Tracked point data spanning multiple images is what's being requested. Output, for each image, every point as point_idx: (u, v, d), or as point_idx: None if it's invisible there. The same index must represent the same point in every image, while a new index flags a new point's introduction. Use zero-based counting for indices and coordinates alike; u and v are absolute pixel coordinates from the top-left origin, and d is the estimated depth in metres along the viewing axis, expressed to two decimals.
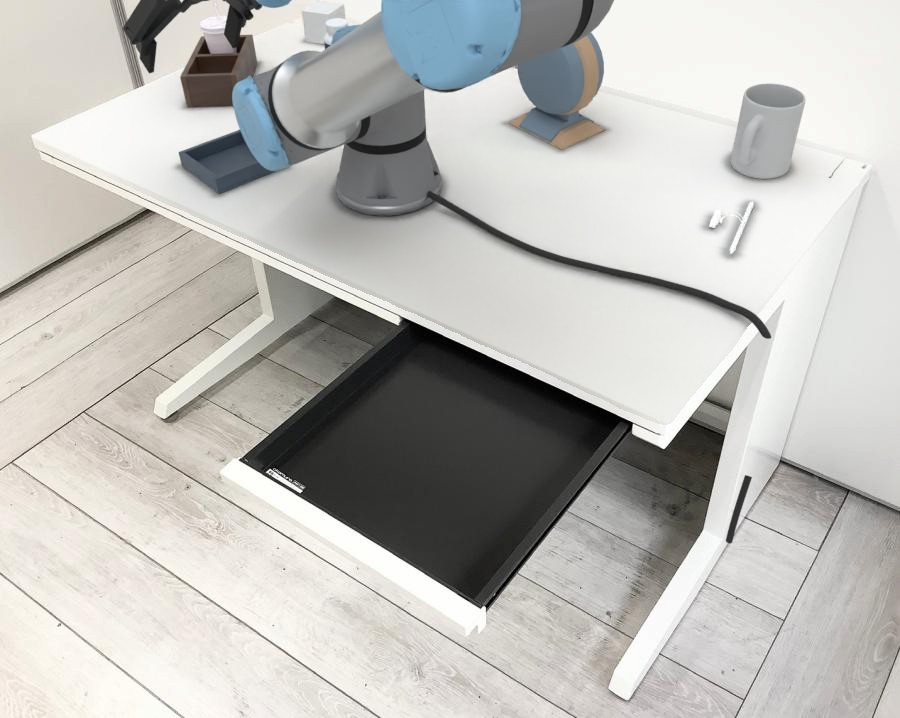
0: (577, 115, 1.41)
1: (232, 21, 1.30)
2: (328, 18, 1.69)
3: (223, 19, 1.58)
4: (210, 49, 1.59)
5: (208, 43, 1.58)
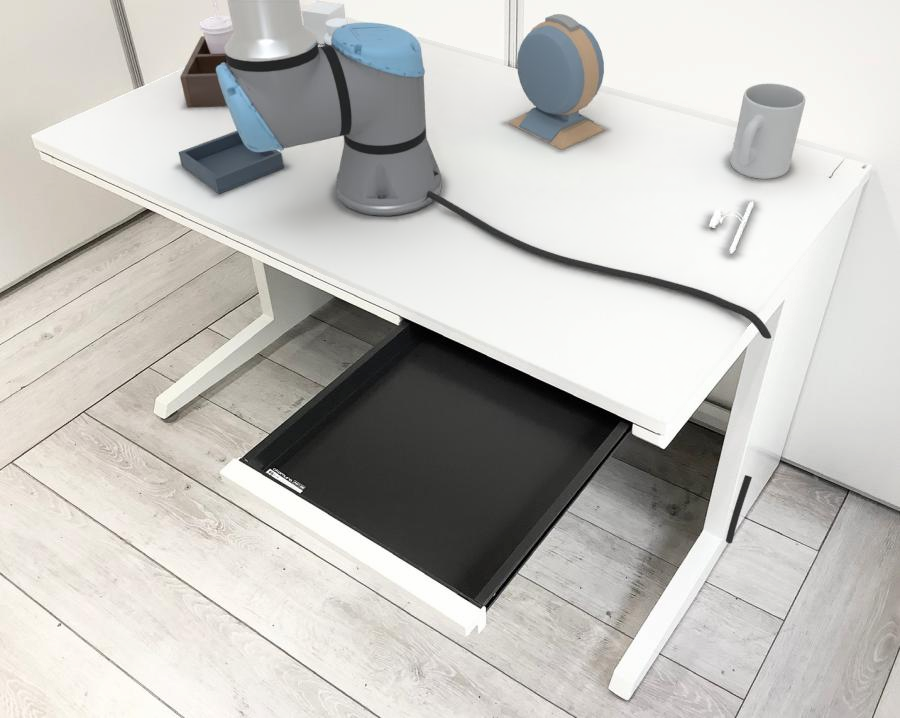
0: (577, 115, 1.41)
1: None
2: (328, 18, 1.69)
3: (223, 19, 1.58)
4: (210, 49, 1.59)
5: (208, 43, 1.58)
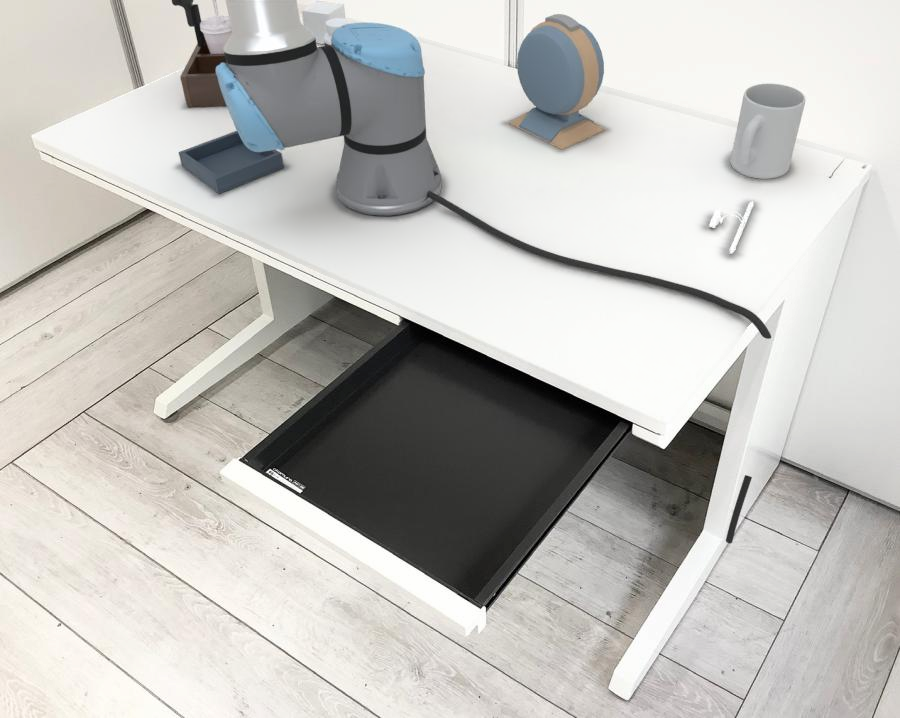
0: (577, 115, 1.41)
1: None
2: (328, 18, 1.69)
3: (223, 19, 1.58)
4: (210, 49, 1.59)
5: (208, 43, 1.58)
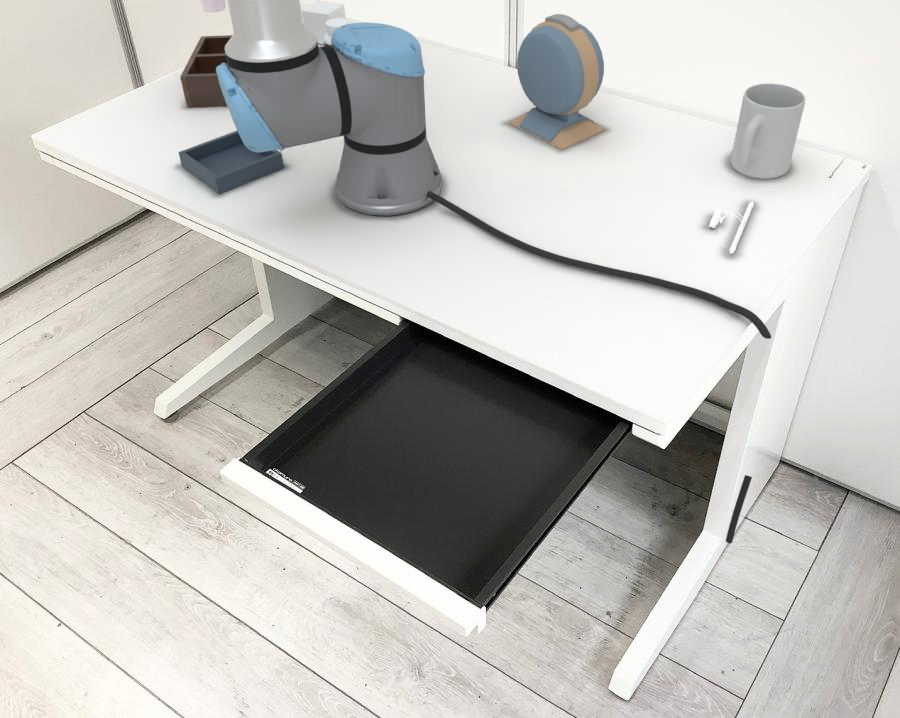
0: (577, 115, 1.41)
1: None
2: (328, 18, 1.69)
3: None
4: None
5: None
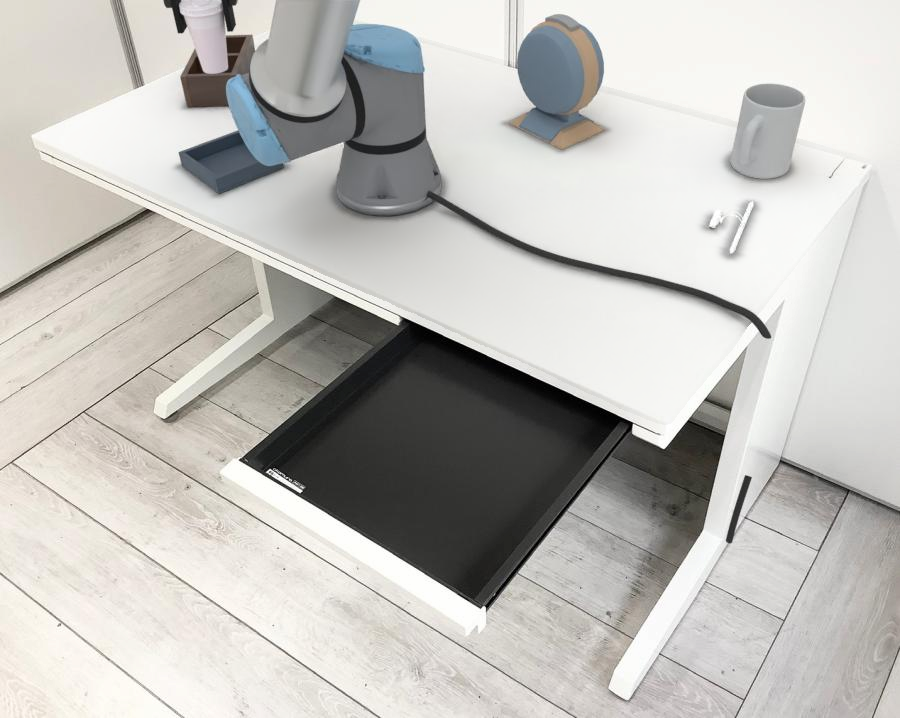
0: (577, 115, 1.41)
1: None
2: None
3: None
4: (192, 36, 1.27)
5: (190, 29, 1.26)
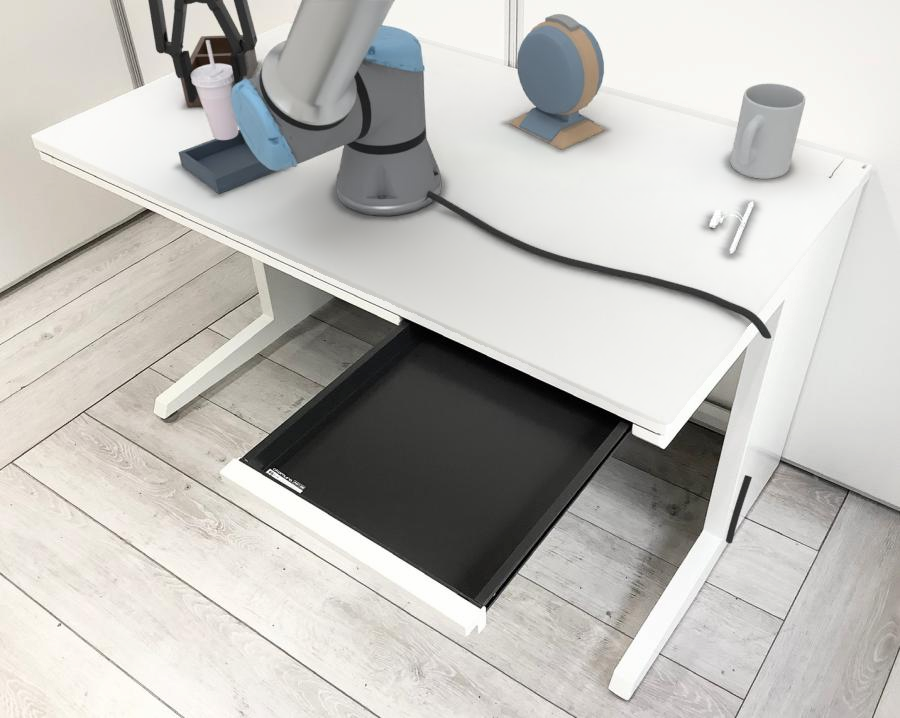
0: (577, 115, 1.41)
1: None
2: None
3: (220, 68, 1.28)
4: (204, 105, 1.29)
5: (201, 98, 1.28)
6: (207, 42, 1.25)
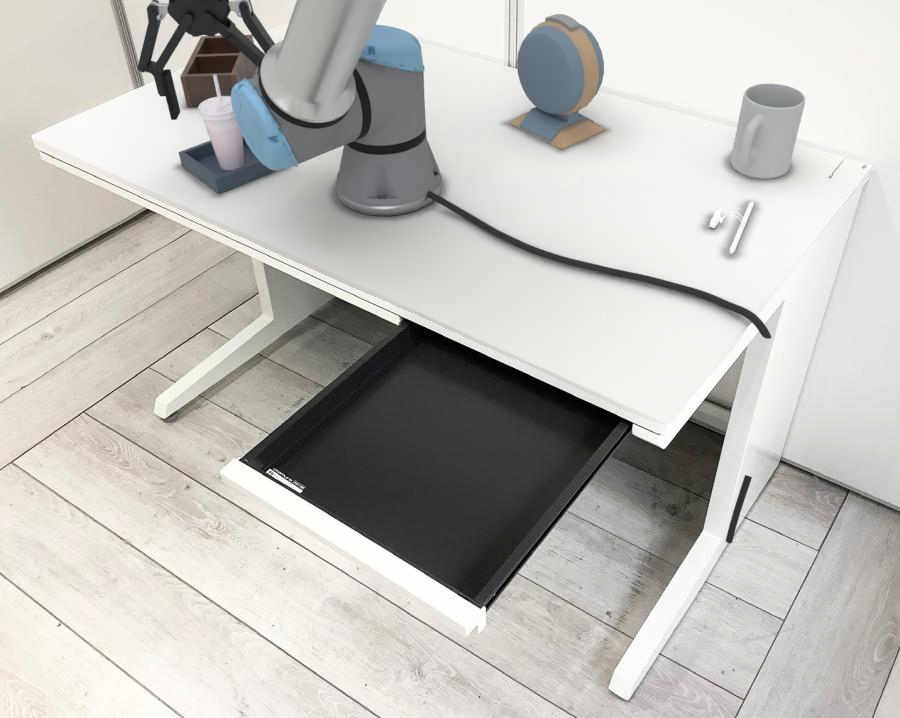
0: (577, 115, 1.41)
1: None
2: None
3: (226, 101, 1.31)
4: (211, 137, 1.32)
5: (208, 130, 1.31)
6: (214, 76, 1.28)
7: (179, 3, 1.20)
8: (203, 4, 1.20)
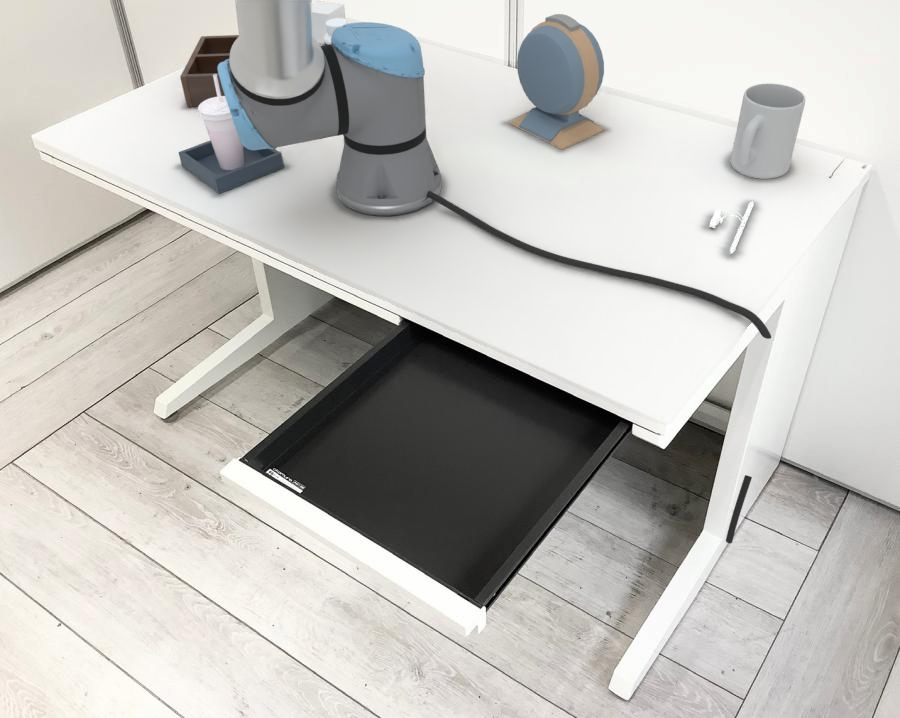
0: (577, 115, 1.41)
1: None
2: (328, 18, 1.69)
3: (226, 101, 1.31)
4: (211, 137, 1.32)
5: (208, 130, 1.31)
6: (214, 76, 1.28)
7: None
8: None
